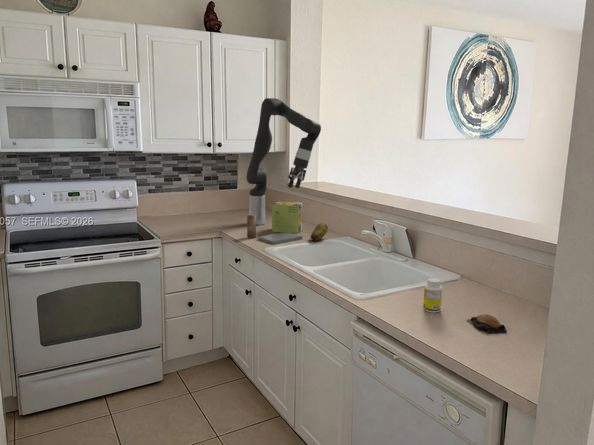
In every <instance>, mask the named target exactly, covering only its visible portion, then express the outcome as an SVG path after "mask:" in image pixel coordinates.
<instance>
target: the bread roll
mask: <svg viewBox="0 0 594 445" xmlns="http://www.w3.org/2000/svg"><path fill="white" fill-rule="evenodd" d="M466 322H467V323H469V325H471V326H473V328H475V329H477V330H478V331H479V332H481V333H484V334H487V335H495V334H500V335H501V334H505V333H508V331H507V327H506V326H505V325H504V324H501V322H500V321H499V319H497V317H495V316H493V315H491V314H478V315H477V316H473V317H472V316H471V318H470V319H469V318H468V319H466Z"/></svg>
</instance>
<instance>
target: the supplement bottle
mask: <svg viewBox="0 0 594 445" xmlns="http://www.w3.org/2000/svg"><path fill="white" fill-rule="evenodd" d="M426 283H427V284H425V285H424V292H423V309H424V311H425V312H428V313H434V314H435V313H439V312H441V310H442V302H443V301H442V300H443V286H442V285H441V280H440V279H438V278H436V277H435V278H434V277H431V278H427V282H426Z"/></svg>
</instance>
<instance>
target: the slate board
mask: <svg viewBox="0 0 594 445" xmlns="http://www.w3.org/2000/svg"><path fill="white" fill-rule="evenodd" d="M257 240H259V241H262V242H264V243H268V244H271V245H277V244H282V243H288V242H294V241H298V240H300V241H301V240H303V236H302V235H300V234H297V233H289V232H276V233H273V234H267V235H261V236H258V237H257Z"/></svg>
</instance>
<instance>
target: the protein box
mask: <svg viewBox="0 0 594 445" xmlns="http://www.w3.org/2000/svg"><path fill="white" fill-rule="evenodd" d="M271 208H272V209H271V216H272V217H271V218H272V219H271V231H272V233H273V232H275V233H283V232H289V233H292V234H299V233H300V232H301V231H302V230H303V202H288V201H287V202H284V201H276V202H275V203H273V204H272V206H271Z"/></svg>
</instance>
